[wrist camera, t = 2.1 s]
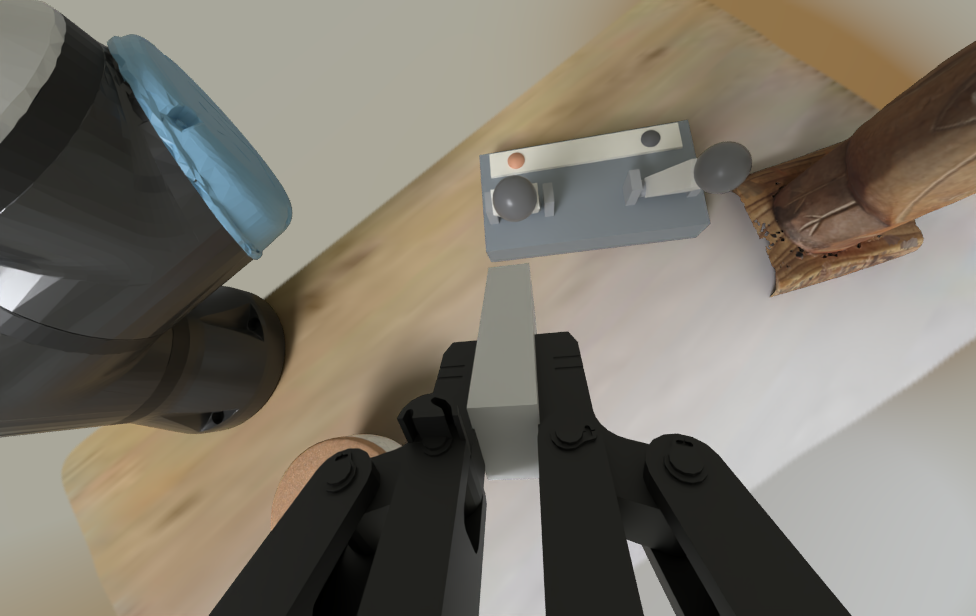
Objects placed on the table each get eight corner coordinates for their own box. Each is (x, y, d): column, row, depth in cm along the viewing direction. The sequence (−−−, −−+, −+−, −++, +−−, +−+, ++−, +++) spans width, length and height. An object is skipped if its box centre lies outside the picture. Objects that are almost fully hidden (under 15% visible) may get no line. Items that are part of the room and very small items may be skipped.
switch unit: (695, 237, 32) (725, 208, 26) (491, 262, 35) (480, 241, 29) (675, 141, 34) (700, 97, 28) (484, 172, 37) (473, 137, 31)
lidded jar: (361, 406, 34) (293, 417, 25) (458, 454, 32) (422, 484, 23) (314, 514, 33) (224, 566, 24) (411, 573, 30) (353, 656, 21)
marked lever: (541, 219, 32) (546, 217, 21) (502, 224, 32) (486, 225, 21) (538, 187, 31) (541, 167, 20) (499, 193, 32) (480, 177, 20)
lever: (681, 200, 30) (771, 186, 19) (638, 206, 30) (699, 196, 19) (681, 165, 29) (773, 130, 18) (636, 172, 30) (699, 142, 19)
